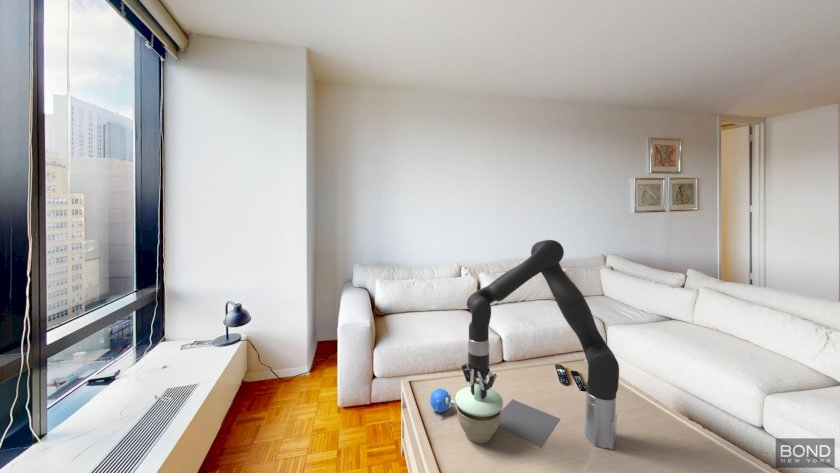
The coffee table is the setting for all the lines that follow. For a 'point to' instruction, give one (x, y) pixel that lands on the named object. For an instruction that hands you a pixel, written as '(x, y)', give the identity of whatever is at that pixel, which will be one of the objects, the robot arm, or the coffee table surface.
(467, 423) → the planter bowl
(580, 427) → the coffee table surface
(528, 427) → the mat
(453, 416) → the coffee table surface
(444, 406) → the blue mole toy
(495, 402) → the lid
